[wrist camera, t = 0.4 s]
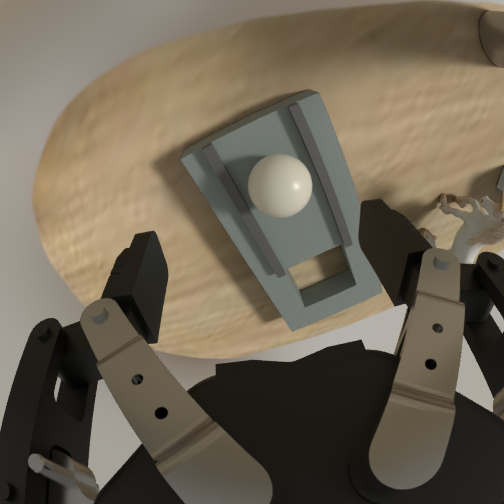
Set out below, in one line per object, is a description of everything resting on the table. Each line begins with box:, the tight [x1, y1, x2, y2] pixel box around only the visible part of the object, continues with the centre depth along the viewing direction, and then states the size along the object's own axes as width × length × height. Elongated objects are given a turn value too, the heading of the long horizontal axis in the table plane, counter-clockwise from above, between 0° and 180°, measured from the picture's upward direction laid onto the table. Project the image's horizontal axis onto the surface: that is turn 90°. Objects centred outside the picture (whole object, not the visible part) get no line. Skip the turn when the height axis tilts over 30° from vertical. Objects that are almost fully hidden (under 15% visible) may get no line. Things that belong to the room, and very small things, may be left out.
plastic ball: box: [248, 154, 312, 218], centre depth 28 cm, size 6×6×6 cm
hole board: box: [180, 89, 382, 332], centre depth 36 cm, size 15×30×4 cm, turn 26°
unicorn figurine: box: [422, 190, 504, 264], centre depth 33 cm, size 7×20×13 cm, turn 3°
